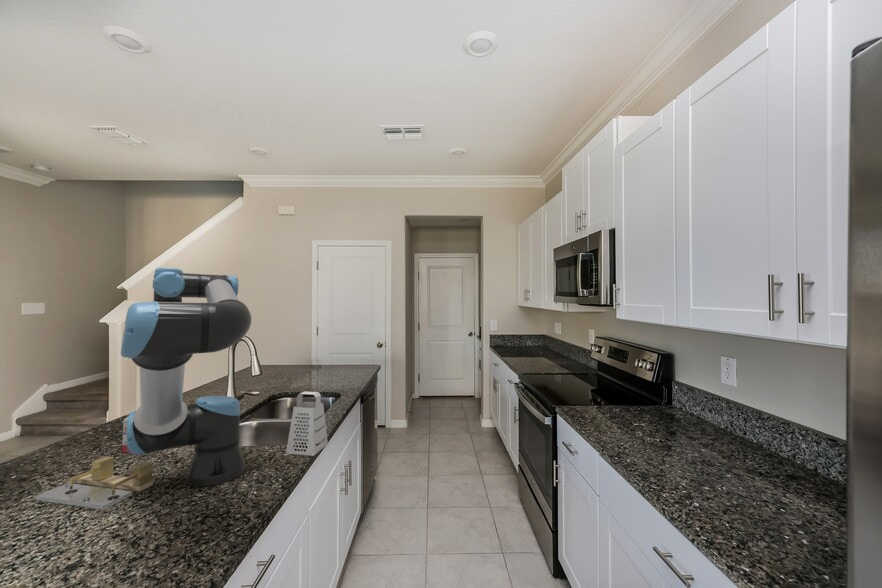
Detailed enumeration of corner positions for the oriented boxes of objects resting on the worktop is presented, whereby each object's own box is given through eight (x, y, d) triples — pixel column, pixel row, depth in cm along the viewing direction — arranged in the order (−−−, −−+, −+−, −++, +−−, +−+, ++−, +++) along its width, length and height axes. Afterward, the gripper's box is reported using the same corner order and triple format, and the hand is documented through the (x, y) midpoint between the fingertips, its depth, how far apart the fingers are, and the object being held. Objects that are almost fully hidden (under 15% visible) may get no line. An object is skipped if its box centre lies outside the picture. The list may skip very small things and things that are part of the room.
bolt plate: (131, 495, 97) (132, 490, 97) (103, 509, 90) (103, 504, 90) (67, 486, 101) (68, 481, 101) (35, 499, 94) (35, 494, 94)
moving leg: (113, 474, 105) (114, 457, 105) (73, 491, 96) (74, 472, 96) (105, 473, 106) (105, 456, 106) (65, 490, 96) (65, 471, 96)
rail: (152, 484, 103) (153, 462, 103) (116, 503, 93) (117, 478, 93) (91, 476, 107) (92, 455, 107) (50, 493, 97) (51, 470, 97)
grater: (313, 455, 124) (315, 397, 125) (285, 453, 126) (287, 395, 126) (327, 444, 134) (329, 390, 135) (302, 442, 136) (303, 388, 137)
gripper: (194, 315, 119) (191, 387, 119) (161, 314, 122) (158, 384, 121) (173, 316, 112) (171, 392, 111) (139, 315, 114) (136, 390, 114)
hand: (164, 388), depth 116 cm, fingers closed
